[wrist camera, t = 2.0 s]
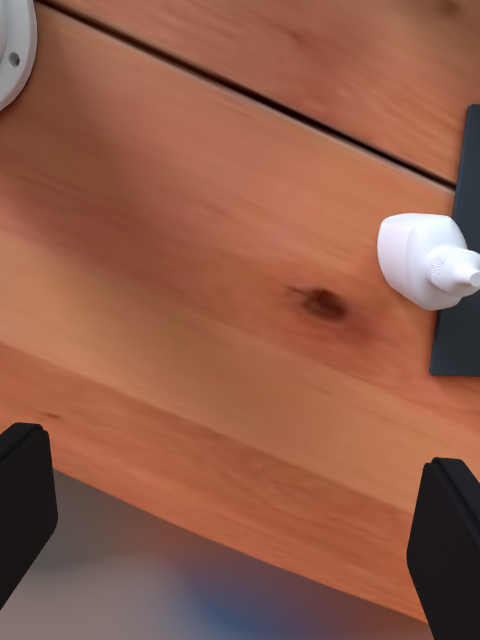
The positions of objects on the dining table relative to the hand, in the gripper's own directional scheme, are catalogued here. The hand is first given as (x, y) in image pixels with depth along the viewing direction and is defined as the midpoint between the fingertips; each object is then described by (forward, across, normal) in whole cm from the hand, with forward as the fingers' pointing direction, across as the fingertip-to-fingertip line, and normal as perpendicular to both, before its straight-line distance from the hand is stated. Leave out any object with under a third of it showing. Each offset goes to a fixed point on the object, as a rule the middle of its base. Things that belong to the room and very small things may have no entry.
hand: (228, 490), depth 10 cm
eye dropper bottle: (+24, -10, -4) cm, 26 cm away
